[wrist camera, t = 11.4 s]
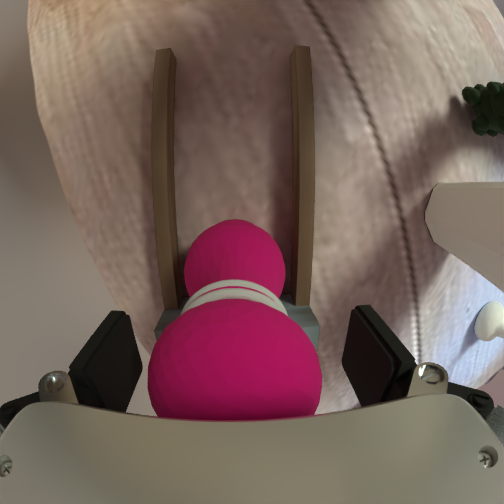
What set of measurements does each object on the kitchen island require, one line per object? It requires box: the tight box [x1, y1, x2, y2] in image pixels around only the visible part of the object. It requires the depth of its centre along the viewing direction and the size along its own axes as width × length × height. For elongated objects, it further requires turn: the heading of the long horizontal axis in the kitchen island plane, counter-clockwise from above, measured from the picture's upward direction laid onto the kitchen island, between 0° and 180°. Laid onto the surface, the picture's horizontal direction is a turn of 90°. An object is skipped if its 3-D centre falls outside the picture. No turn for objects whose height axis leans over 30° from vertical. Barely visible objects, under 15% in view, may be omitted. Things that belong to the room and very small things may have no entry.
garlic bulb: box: [474, 301, 504, 341], centre depth 25 cm, size 6×6×8 cm
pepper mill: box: [148, 219, 322, 420], centre depth 14 cm, size 7×7×20 cm
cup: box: [425, 182, 504, 292], centre depth 16 cm, size 11×10×17 cm
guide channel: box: [152, 45, 320, 351], centre depth 19 cm, size 12×24×6 cm, turn 1°
